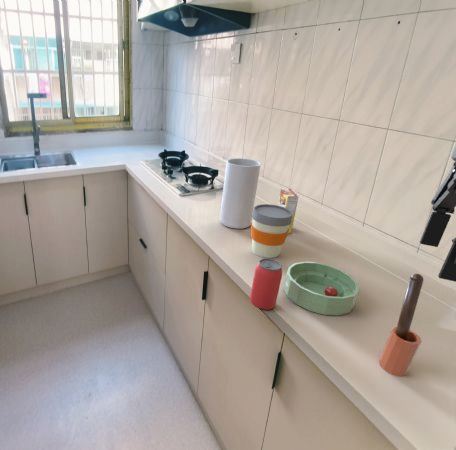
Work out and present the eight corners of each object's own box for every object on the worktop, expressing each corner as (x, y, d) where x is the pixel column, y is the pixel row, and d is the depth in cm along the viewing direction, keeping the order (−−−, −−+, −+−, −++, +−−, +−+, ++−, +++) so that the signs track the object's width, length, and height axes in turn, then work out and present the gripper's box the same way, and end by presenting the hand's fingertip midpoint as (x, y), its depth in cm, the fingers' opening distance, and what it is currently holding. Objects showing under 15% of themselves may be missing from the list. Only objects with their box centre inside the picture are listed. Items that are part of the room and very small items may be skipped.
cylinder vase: (213, 218, 140) (220, 159, 130) (239, 215, 144) (247, 157, 134) (230, 231, 129) (238, 167, 119) (257, 227, 134) (267, 165, 123)
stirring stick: (397, 364, 70) (423, 272, 62) (399, 371, 69) (425, 277, 60) (386, 362, 71) (410, 270, 63) (387, 368, 69) (412, 275, 61)
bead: (336, 296, 92) (339, 286, 90) (336, 302, 89) (339, 292, 88) (323, 292, 93) (326, 283, 92) (323, 299, 90) (325, 289, 89)
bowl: (350, 289, 96) (356, 271, 94) (354, 326, 82) (361, 306, 79) (287, 273, 103) (290, 256, 100) (279, 305, 88) (284, 285, 86)
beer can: (244, 301, 89) (251, 262, 84) (258, 292, 93) (266, 254, 88) (265, 314, 85) (274, 273, 80) (280, 304, 89) (289, 265, 84)
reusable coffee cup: (269, 264, 107) (277, 221, 101) (238, 248, 117) (244, 208, 110) (292, 254, 114) (301, 213, 108) (261, 240, 123) (268, 201, 117)
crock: (403, 364, 71) (418, 331, 68) (407, 381, 67) (423, 347, 64) (377, 356, 73) (390, 324, 69) (379, 372, 69) (393, 339, 65)
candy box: (273, 223, 138) (280, 188, 131) (284, 224, 137) (291, 188, 131) (279, 233, 129) (287, 195, 123) (291, 233, 129) (299, 196, 123)
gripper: (439, 126, 63) (400, 229, 71) (493, 149, 42) (429, 290, 51) (491, 130, 60) (444, 237, 68) (576, 157, 39) (493, 306, 48)
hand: (437, 260), depth 60 cm, fingers open, 13 cm apart
